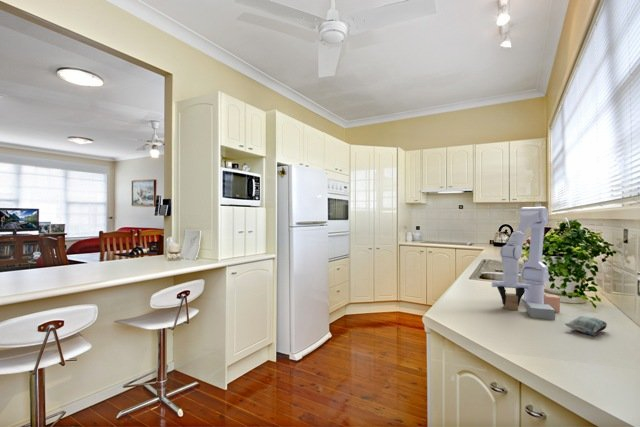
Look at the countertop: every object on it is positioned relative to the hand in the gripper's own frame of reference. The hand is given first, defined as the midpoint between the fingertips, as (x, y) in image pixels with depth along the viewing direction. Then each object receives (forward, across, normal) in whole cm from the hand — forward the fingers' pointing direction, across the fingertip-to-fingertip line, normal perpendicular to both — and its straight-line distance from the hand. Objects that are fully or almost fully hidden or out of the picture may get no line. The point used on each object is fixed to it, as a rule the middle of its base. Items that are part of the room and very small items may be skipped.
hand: (510, 304), depth 140 cm
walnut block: (+2, 0, 0) cm, 2 cm away
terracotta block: (+2, +16, +3) cm, 16 cm away
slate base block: (+2, +9, -7) cm, 12 cm away
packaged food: (+2, +18, -22) cm, 29 cm away
